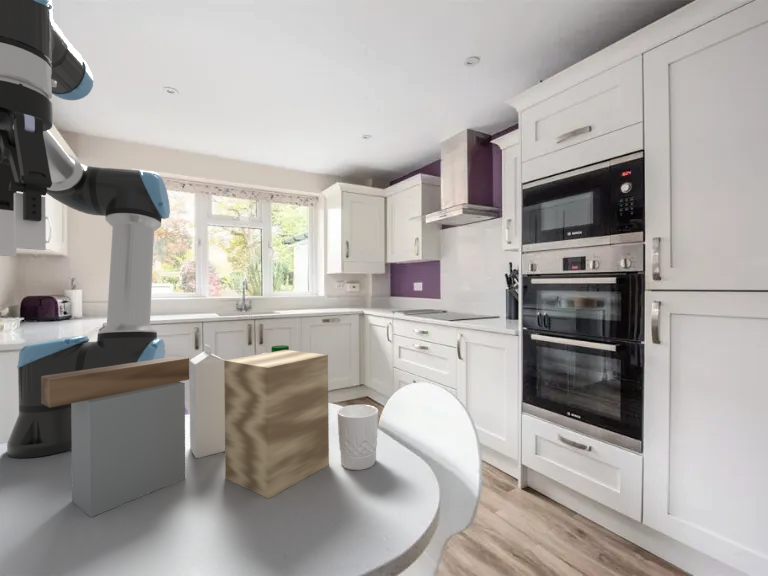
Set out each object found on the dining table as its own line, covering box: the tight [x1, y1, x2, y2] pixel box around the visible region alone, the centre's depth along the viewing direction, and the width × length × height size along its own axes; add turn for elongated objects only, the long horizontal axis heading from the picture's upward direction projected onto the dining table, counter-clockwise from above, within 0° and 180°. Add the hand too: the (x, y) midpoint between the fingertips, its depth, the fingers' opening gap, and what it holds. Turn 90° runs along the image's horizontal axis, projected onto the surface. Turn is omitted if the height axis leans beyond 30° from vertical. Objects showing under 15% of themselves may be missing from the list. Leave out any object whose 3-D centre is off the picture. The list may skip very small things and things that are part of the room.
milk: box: [189, 343, 225, 459], centre depth 79 cm, size 6×6×22 cm
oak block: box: [223, 349, 330, 499], centre depth 70 cm, size 12×14×21 cm
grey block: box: [71, 381, 186, 518], centre depth 64 cm, size 8×14×17 cm, turn 145°
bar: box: [41, 355, 190, 408], centre depth 63 cm, size 4×20×4 cm, turn 145°
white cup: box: [336, 404, 379, 471], centre depth 73 cm, size 8×8×10 cm
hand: (15, 252), depth 49 cm, fingers open, 13 cm apart
